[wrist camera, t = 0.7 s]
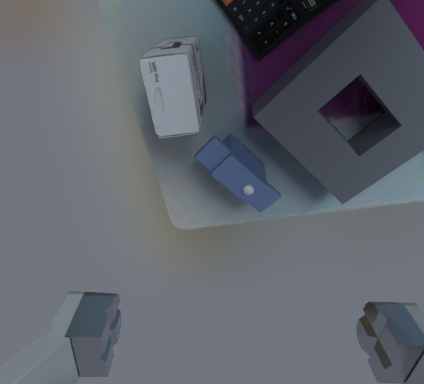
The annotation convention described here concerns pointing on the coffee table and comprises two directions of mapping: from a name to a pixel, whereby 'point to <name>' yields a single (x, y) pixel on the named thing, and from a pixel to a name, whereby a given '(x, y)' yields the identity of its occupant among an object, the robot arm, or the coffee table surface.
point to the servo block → (238, 171)
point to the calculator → (270, 20)
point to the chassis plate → (336, 81)
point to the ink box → (175, 86)
